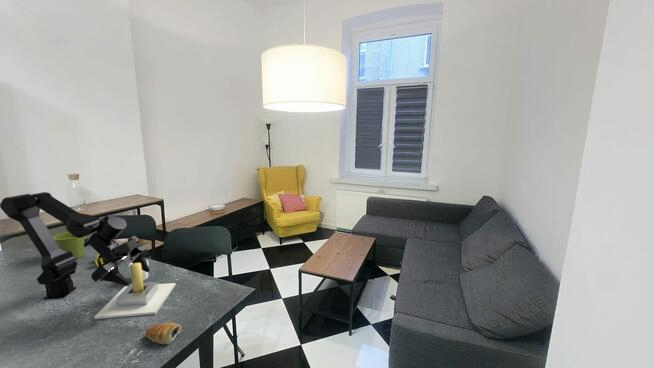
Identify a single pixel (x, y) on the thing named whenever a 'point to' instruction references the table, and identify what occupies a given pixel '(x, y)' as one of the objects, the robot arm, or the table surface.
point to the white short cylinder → (144, 274)
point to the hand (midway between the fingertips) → (139, 277)
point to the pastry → (163, 332)
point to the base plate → (151, 308)
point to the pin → (136, 278)
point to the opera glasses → (100, 261)
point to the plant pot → (70, 243)
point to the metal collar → (137, 295)
